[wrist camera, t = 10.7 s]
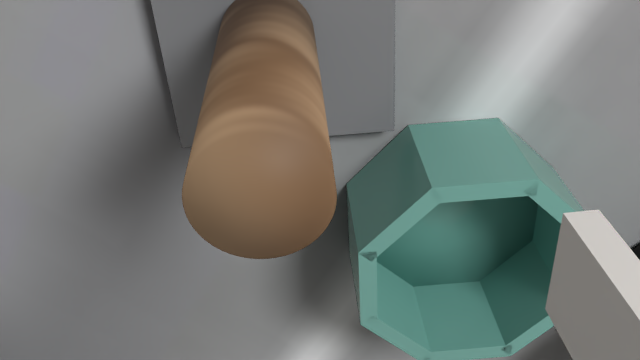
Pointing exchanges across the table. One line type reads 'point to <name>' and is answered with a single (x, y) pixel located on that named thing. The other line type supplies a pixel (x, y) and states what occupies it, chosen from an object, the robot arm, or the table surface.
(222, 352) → the table surface
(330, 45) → the coaster
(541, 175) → the teal octagonal bowl
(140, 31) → the table surface
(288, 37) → the dowel
